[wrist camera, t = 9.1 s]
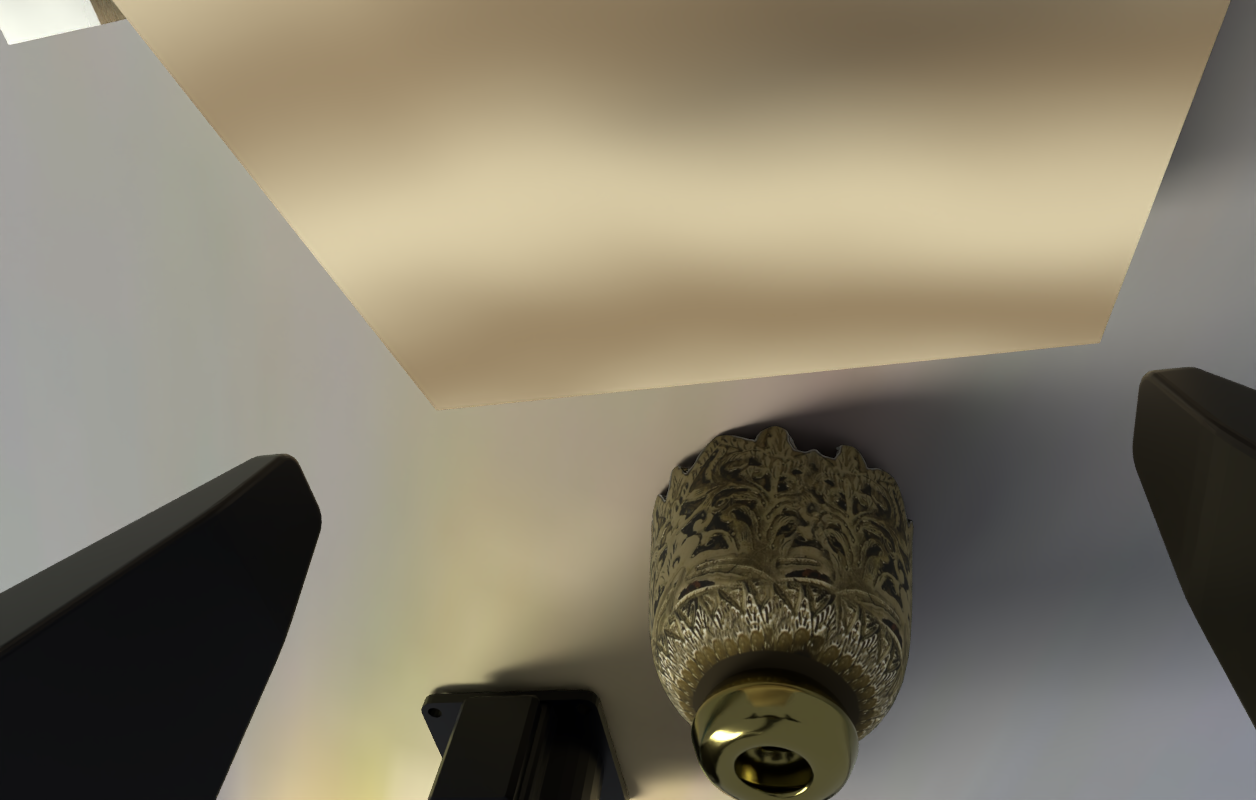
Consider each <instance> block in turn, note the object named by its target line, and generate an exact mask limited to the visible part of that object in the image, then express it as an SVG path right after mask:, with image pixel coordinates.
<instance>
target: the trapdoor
mask: <svg viewBox="0 0 1256 800" xmlns="http://www.w3.org/2000/svg"><path fill="white" fill-rule="evenodd" d="M112 1H113V2H114V3H115V4H116V6H117V7H118V8H119V10H120V11H121V12H122V13H123V15H124V16H125V17H126V18H127V20H128V21H129V22H130V23H131V25H132V26H133V27H134V29H135V30H136V31H137V32H138V34H139V35H140V36H141V37H142V39H143V40H144V41H145V42H146V44H147V45H148V46H149V47H150V49H151V50H152V51H153V53H154V54H155V55H156V56H157V58H158V59H159V60H160V61H161V63H162V64H163V65H164V66H165V68H166V69H167V70H168V71H169V73H170V74H171V75H172V77H173V78H174V79H175V80H176V82H177V83H178V84H179V85H180V87H181V88H182V89H183V90H184V92H185V93H186V94H187V96H188V97H189V98H190V99H191V101H192V102H193V103H194V104H195V106H196V107H197V108H198V109H199V111H200V112H201V113H202V114H203V116H204V117H205V118H206V120H207V121H208V122H209V123H210V125H211V126H212V127H213V128H214V130H215V131H216V132H217V133H218V135H219V136H220V137H221V138H222V140H223V141H224V142H225V144H226V145H227V146H228V147H229V149H230V150H231V151H232V152H233V154H234V155H235V156H236V157H237V159H238V160H239V161H240V163H241V164H242V165H243V166H244V168H245V169H246V170H247V171H248V173H249V174H250V175H251V176H252V178H253V179H254V180H255V181H256V183H257V184H258V185H259V187H260V188H261V189H262V190H263V192H264V193H265V194H266V195H267V197H268V198H269V199H270V200H271V202H272V203H273V204H274V205H275V207H276V208H277V209H278V211H279V212H280V213H281V214H282V216H283V217H284V218H285V219H286V221H287V222H288V223H289V224H290V226H291V227H292V228H293V230H294V231H295V232H296V233H297V235H298V236H299V237H300V238H301V240H302V241H303V242H304V243H305V245H306V246H307V247H308V248H309V250H310V251H311V252H312V254H313V255H314V256H315V257H316V259H317V260H318V261H319V262H320V264H321V265H322V266H323V267H324V269H325V270H326V271H327V272H328V274H329V275H330V276H331V278H332V279H333V280H334V281H335V283H336V284H337V285H338V286H339V288H340V289H341V290H342V291H343V293H344V294H345V295H346V297H347V298H348V299H349V300H350V302H351V303H352V304H353V305H354V307H355V308H356V309H357V310H358V312H359V313H360V314H361V315H362V317H363V318H364V319H365V321H366V322H367V323H368V324H369V326H370V327H371V328H372V329H373V331H374V332H375V333H376V334H377V336H378V337H379V338H380V339H381V341H382V342H383V343H384V345H385V346H386V347H387V348H388V350H389V351H390V352H391V353H392V355H393V356H394V357H395V358H396V360H397V361H398V362H399V364H400V365H401V366H402V367H403V369H404V370H405V371H406V372H407V374H408V375H409V376H410V377H411V379H412V380H413V381H414V382H415V384H416V385H417V386H418V388H419V389H420V390H421V391H422V393H423V394H424V395H425V396H426V398H427V399H428V400H429V401H430V403H431V404H432V405H433V406H434V408H435V409H436V410H446V409H455V408H465V407H475V406H485V405H495V404H504V403H514V402H524V401H534V400H544V399H554V398H563V397H573V396H583V395H593V394H603V393H613V392H622V391H632V390H642V389H652V388H662V387H672V386H681V385H691V384H701V383H711V382H721V381H731V380H740V379H750V378H760V377H770V376H780V375H789V374H799V373H809V372H819V371H829V370H839V369H848V368H858V367H868V366H878V365H888V364H898V363H907V362H917V361H927V360H937V359H947V358H957V357H966V356H976V355H986V354H996V353H1006V352H1016V351H1025V350H1035V349H1045V348H1055V347H1065V346H1074V345H1084V344H1094V343H1100V341H1101V338H1102V335H1103V333H1104V330H1105V328H1106V325H1107V322H1108V320H1109V317H1110V315H1111V312H1112V309H1113V307H1114V304H1115V301H1116V299H1117V296H1118V294H1119V291H1120V288H1121V286H1122V283H1123V281H1124V278H1125V275H1126V273H1127V270H1128V268H1129V265H1130V262H1131V260H1132V257H1133V254H1134V252H1135V249H1136V247H1137V244H1138V241H1139V239H1140V236H1141V234H1142V231H1143V228H1144V226H1145V223H1146V221H1147V218H1148V215H1149V213H1150V210H1151V207H1152V205H1153V202H1154V200H1155V197H1156V194H1157V192H1158V189H1159V187H1160V184H1161V181H1162V179H1163V176H1164V173H1165V171H1166V168H1167V166H1168V163H1169V160H1170V158H1171V155H1172V153H1173V150H1174V147H1175V145H1176V142H1177V140H1178V137H1179V134H1180V132H1181V129H1182V126H1183V124H1184V121H1185V119H1186V116H1187V113H1188V111H1189V108H1190V106H1191V103H1192V100H1193V98H1194V95H1195V93H1196V90H1197V87H1198V85H1199V82H1200V79H1201V77H1202V74H1203V72H1204V69H1205V66H1206V64H1207V61H1208V59H1209V56H1210V53H1211V51H1212V48H1213V45H1214V43H1215V40H1216V38H1217V35H1218V32H1219V30H1220V27H1221V25H1222V22H1223V19H1224V17H1225V14H1226V12H1227V9H1228V6H1229V4H1230V1H1231V0H112Z"/></svg>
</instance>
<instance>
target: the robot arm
mask: <svg viewBox="0 0 1256 800" xmlns="http://www.w3.org/2000/svg"><path fill="white" fill-rule="evenodd" d="M1133 458H1134V463H1135V467H1136V470H1137V473H1138V476H1139V478H1140V481H1141V484H1142V486H1143V489H1144V491H1145V494H1146V497H1147V499H1148V502H1149V504H1150V507H1151V510H1152V512H1153V515H1154V518H1155V520H1156V523H1157V525H1158V528H1159V531H1160V533H1161V536H1162V538H1163V541H1164V544H1165V546H1166V549H1167V552H1168V554H1169V557H1170V559H1171V562H1172V565H1173V567H1174V570H1175V572H1176V575H1177V578H1178V580H1179V583H1180V585H1181V587H1182V590H1183V592H1184V595H1185V597H1186V599H1187V601H1188V603H1189V605H1190V607H1191V609H1192V611H1193V613H1194V615H1195V617H1196V619H1197V621H1198V623H1199V625H1200V627H1201V629H1202V631H1203V633H1204V634H1205V636H1206V638H1207V640H1208V642H1209V644H1210V645H1211V647H1212V649H1213V651H1214V653H1215V655H1216V657H1217V658H1218V660H1219V662H1220V664H1221V666H1222V668H1223V670H1224V671H1225V673H1226V675H1227V677H1228V679H1229V681H1230V683H1231V684H1232V686H1233V688H1234V690H1235V692H1236V694H1237V696H1238V697H1239V699H1240V701H1241V703H1242V705H1243V707H1244V709H1245V710H1246V712H1247V714H1248V716H1249V718H1250V720H1251V721H1252V723H1253V725H1254V727H1255V729H1256V390H1255V389H1252V388H1249V387H1247V386H1244V385H1241V384H1239V383H1236V382H1233V381H1230V380H1228V379H1225V378H1222V377H1220V376H1217V375H1214V374H1212V373H1209V372H1206V371H1204V370H1201V369H1198V368H1195V367H1182V368H1172V369H1162V370H1153V371H1150V372H1148V373H1146V374H1145V375H1144V376H1143V378H1142V380H1141V383H1140V386H1139V393H1138V402H1137V410H1136V419H1135V428H1134V436H1133ZM321 523H322V520H321V512H320V509H319V506H318V504H317V502H316V500H315V497H314V495H313V493H312V491H311V489H310V486H309V484H308V482H307V480H306V478H305V476H304V473H303V471H302V469H301V467H300V465H299V463H298V461H297V460H296V459H295V458H294V457H292V456H290V455H288V454H274V455H263V456H257V457H254V458H252V459H250V460H248V461H246V462H244V463H242V464H240V465H239V466H237V467H235V468H233V469H231V470H229V471H227V472H226V473H224V474H222V475H220V476H218V477H216V478H214V479H212V480H211V481H209V482H207V483H205V484H203V485H201V486H199V487H198V488H196V489H194V490H192V491H190V492H188V493H186V494H185V495H183V496H181V497H179V498H177V499H175V500H173V501H171V502H170V503H168V504H166V505H164V506H162V507H160V508H158V509H157V510H155V511H153V512H151V513H149V514H147V515H145V516H144V517H142V518H140V519H138V520H136V521H134V522H132V523H131V524H129V525H127V526H125V527H123V528H121V529H119V530H117V531H116V532H114V533H112V534H110V535H108V536H106V537H104V538H103V539H101V540H99V541H97V542H95V543H93V544H91V545H90V546H88V547H86V548H84V549H82V550H80V551H78V552H76V553H75V554H73V555H71V556H69V557H67V558H65V559H63V560H62V561H60V562H58V563H56V564H54V565H52V566H50V567H49V568H47V569H45V570H43V571H41V572H39V573H37V574H36V575H34V576H32V577H30V578H28V579H26V580H24V581H22V582H21V583H19V584H17V585H15V586H13V587H11V588H9V589H8V590H6V591H4V592H2V593H0V800H216V798H217V796H218V794H219V791H220V789H221V787H222V785H223V782H224V780H225V778H226V775H227V773H228V771H229V769H230V766H231V764H232V762H233V760H234V757H235V755H236V753H237V750H238V748H239V746H240V744H241V741H242V739H243V737H244V734H245V732H246V730H247V728H248V725H249V723H250V721H251V718H252V716H253V714H254V712H255V709H256V707H257V705H258V702H259V700H260V698H261V696H262V693H263V691H264V689H265V686H266V684H267V682H268V680H269V677H270V675H271V673H272V671H273V668H274V666H275V664H276V661H277V659H278V657H279V654H280V652H281V649H282V647H283V644H284V642H285V639H286V636H287V633H288V630H289V627H290V625H291V622H292V619H293V615H294V612H295V609H296V606H297V603H298V600H299V597H300V594H301V590H302V587H303V584H304V581H305V578H306V575H307V572H308V569H309V565H310V562H311V559H312V556H313V553H314V550H315V547H316V544H317V540H318V537H319V534H320V531H321ZM421 711H422V714H423V716H424V719H425V721H426V723H427V725H428V728H429V730H430V732H431V734H432V736H433V739H434V741H435V743H436V745H437V747H438V750H439V752H440V754H441V756H442V761H441V764H440V767H439V769H438V772H437V775H436V778H435V781H434V783H433V786H432V789H431V792H430V795H429V797H428V800H629V796H628V793H627V789H626V786H625V783H624V779H623V776H622V773H621V769H620V766H619V763H618V759H617V756H616V753H615V749H614V746H613V743H612V739H611V736H610V733H609V729H608V726H607V723H606V719H605V716H604V713H603V709H602V706H601V703H600V699H599V698H598V696H597V695H596V694H595V693H593V692H591V691H588V690H560V691H526V692H491V693H457V694H433V695H429V696H427V697H426V699H425V702H424V704H423V707H422V709H421Z"/></svg>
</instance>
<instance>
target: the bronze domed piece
mask: <svg viewBox="0 0 1256 800" xmlns="http://www.w3.org/2000/svg"><path fill="white" fill-rule="evenodd" d="M789 437H790V436H789V434H788V432H787V431H786V430H785V429H783V428H781V427H778V426H772V427H769V428H767V429H764V430H762V431H761V432H760V433H759V434H758V436H757V437H756V440H752V439H746V438H743V437H738V436H734V435H723V436H718V437H716V438H714V439H713V440H712V441H711V442H710V443H709V444H708V445H707V446H706V447H705V448H704V449H703V450H702V451H701V453H700V454H699V456H698V458H697V460H696V462H695V463H694V465H693V466H692V467H691V468H690V469H689V470H688V468H686V467H680V466H677V467H675V468H674V469H673V470H672V472H671V477H670V483H669V489H668V493H667V496H662V495H660V494H659V495H658V496H657V498H656V502H655V506H654V510H653V515H652V516H653V521H652V542H651V560H650V584H649V628H650V640H651V647H652V653H653V659H654V664H655V667H656V670H657V673H658V676H659V679H660V682H661V684H662V686H663V688H664V690H665V692H666V694H667V696H668V697H669V699H670V701H671V702H672V704H673V705H674V707H675V708H676V710H677V711H678V712H679V713H680V715H681V716H682V717H683V718H684V719H685V720H686V721H687V722H688V723H689V724H690V725H691V726H692V730H691V736H692V743H693V746H694V750H695V753H696V756H697V759H698V762H699V764H700V766H701V768H702V770H703V772H704V774H705V775H706V777H707V778H708V779H709V780H710V782H711V783H712V784H713V785H714V786H716V787H717V788H718V789H719V790H720V791H722V792H723V793H725V794H726V795H728V796H729V797H731V798H733V799H735V800H828V799H830V798H831V797H833V796H834V795H836V794H837V793H838V792H839V791H840V790H841V789H842V787H843V786H844V785H845V784H846V782H847V780H848V779H849V777H850V775H851V772H852V770H853V767H854V765H855V762H856V759H857V756H858V751H859V740H861V739H862V738H864V737H865V736H866V735H868V734H869V733H870V732H871V731H872V730H873V729H874V728H875V727H876V726H877V725H878V724H879V723H880V722H881V720H882V719H883V718H884V717H885V715H886V714H887V713H888V711H889V710H890V708H891V707H892V705H893V703H894V701H895V699H896V697H897V694H898V692H899V690H900V687H901V685H902V683H903V679H904V674H905V670H906V665H907V661H908V656H909V648H910V637H911V620H912V540H913V522H912V520H909V519H907V516H906V512H905V505H904V502H903V499H902V496H901V493H900V490H899V487H898V485H897V483H896V481H895V480H894V478H893V477H891V476H890V475H889V474H888V473H886V472H885V471H883V470H881V469H879V468H867V465H866V463H865V461H864V459H863V457H862V455H861V454H860V452H859V451H858V450H857V449H855V448H854V447H852V446H846V445H840V446H839V447H837V448H836V449H838V450H839V451H837V452H836V457H835V458H830V457H825V456H823V455H822V454H821V453H820V452H819V451H818V450H816V449H815V450H814V449H813V450H810V451H807V452H803V451H798V449H797V450H795V449H796V446H795V445H794V444H793V443H794V441H793V440H792V439H791V438H790V442H791V444H792V445H791V444H790V442H789ZM792 446H793V447H792ZM793 448H795V449H793ZM686 471H688V472H686Z"/></svg>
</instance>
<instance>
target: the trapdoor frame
mask: <svg viewBox="0 0 1256 800" xmlns="http://www.w3.org/2000/svg"><path fill="white" fill-rule="evenodd" d="M123 19H127V18H126V17H125V16H124V15H123V13H122V12H121V11H120V10H119V8H118V7H117V6H116V4H115V3H114V2H113V1H112V0H0V29H1V30H2V32H3V34H4V36H5V38H6V40H7V42H8V44H9V45H10V44H15V43H20V42H24V41H29V40H33V39H38V38H42V37H47V36H51V35H56V34H61V33H65V32H70V31H74V30H79V29H83V28H88V27H92V26H97V25H102V24H106V23H110V22H114V21H119V20H123Z"/></svg>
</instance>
